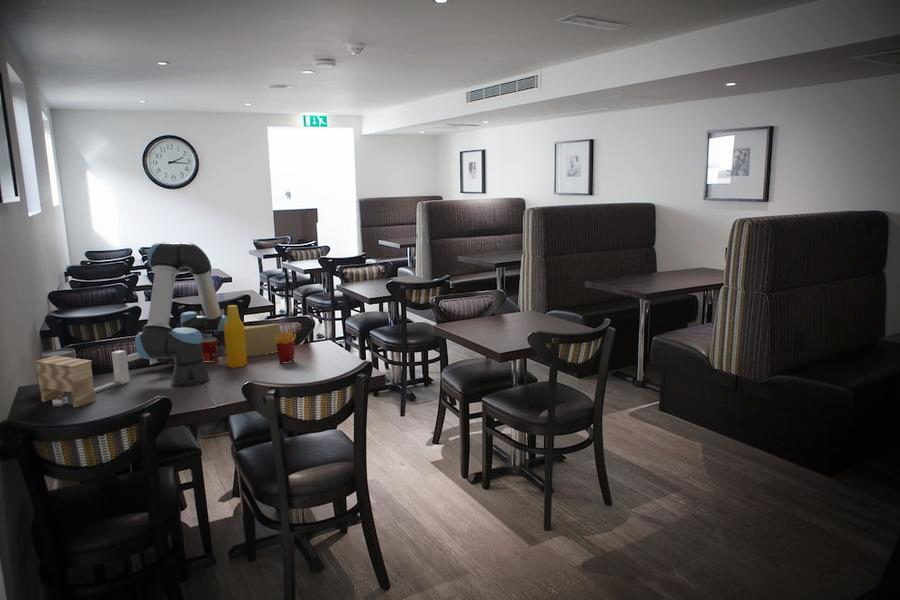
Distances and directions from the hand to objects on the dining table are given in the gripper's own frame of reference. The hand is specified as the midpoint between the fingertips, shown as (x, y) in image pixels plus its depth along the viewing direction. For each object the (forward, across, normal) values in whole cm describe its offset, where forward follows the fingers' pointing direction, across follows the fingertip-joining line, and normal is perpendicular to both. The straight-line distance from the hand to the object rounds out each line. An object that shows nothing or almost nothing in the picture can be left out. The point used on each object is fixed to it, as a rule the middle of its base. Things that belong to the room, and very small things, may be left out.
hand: (139, 360), depth 273 cm
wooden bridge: (+35, 0, -8) cm, 36 cm away
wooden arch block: (+18, 0, -7) cm, 19 cm away
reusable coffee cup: (+22, +21, -8) cm, 31 cm away
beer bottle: (-28, -30, -8) cm, 42 cm away
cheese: (-48, -27, -8) cm, 56 cm away
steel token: (+38, 0, -8) cm, 39 cm away
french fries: (-42, -48, -8) cm, 65 cm away
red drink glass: (-30, -12, -8) cm, 34 cm away
